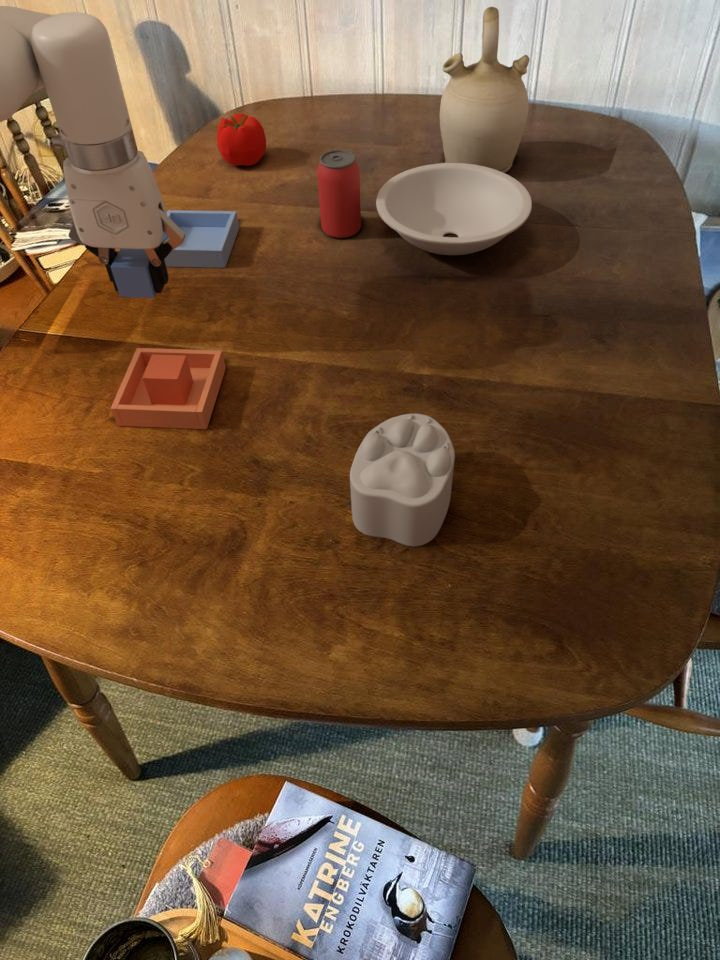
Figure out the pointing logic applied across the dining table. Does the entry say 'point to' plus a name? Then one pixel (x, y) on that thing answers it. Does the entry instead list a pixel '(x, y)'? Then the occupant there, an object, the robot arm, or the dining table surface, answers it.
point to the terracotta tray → (139, 411)
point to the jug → (484, 105)
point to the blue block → (133, 274)
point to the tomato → (241, 140)
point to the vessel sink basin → (453, 206)
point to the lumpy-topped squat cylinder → (403, 480)
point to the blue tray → (203, 238)
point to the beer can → (339, 193)
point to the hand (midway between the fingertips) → (141, 285)
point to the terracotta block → (168, 379)
